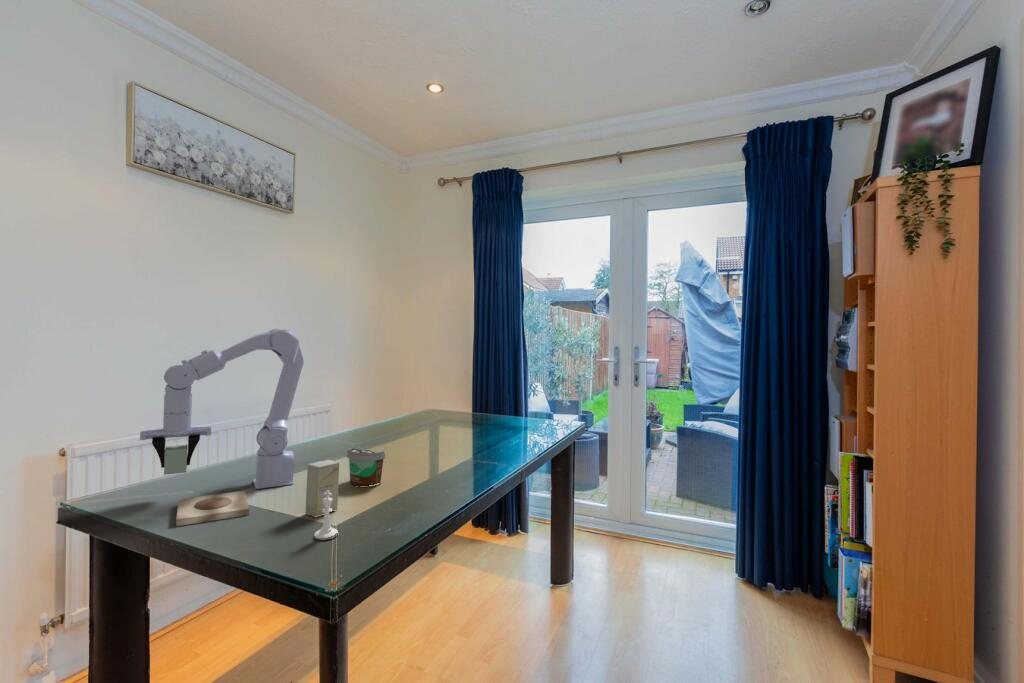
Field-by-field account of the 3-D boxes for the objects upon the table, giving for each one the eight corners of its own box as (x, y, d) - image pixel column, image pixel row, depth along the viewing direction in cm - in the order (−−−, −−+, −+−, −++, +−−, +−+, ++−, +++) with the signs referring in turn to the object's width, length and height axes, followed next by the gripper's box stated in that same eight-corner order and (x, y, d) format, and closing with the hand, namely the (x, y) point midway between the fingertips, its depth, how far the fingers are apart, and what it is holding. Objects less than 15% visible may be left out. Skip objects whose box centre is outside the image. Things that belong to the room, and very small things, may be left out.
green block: (186, 467, 120) (187, 444, 120) (186, 472, 116) (187, 448, 116) (165, 469, 117) (165, 446, 117) (163, 474, 114) (164, 450, 114)
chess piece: (329, 542, 97) (331, 495, 97) (308, 539, 98) (310, 492, 98) (342, 532, 102) (344, 488, 102) (322, 530, 103) (324, 485, 103)
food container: (336, 484, 133) (337, 450, 133) (350, 478, 139) (352, 445, 139) (370, 491, 128) (371, 456, 128) (384, 485, 134) (385, 451, 134)
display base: (244, 496, 121) (244, 489, 120) (249, 514, 109) (249, 507, 109) (178, 505, 113) (178, 498, 113) (176, 526, 101) (176, 518, 101)
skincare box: (315, 518, 109) (317, 467, 109) (304, 514, 111) (306, 464, 111) (338, 510, 114) (340, 461, 114) (327, 506, 116) (329, 458, 116)
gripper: (139, 416, 109) (137, 473, 109) (212, 413, 117) (210, 466, 118) (142, 411, 115) (140, 465, 115) (211, 408, 123) (209, 459, 123)
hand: (175, 465), depth 117 cm, fingers closed on green block, 4 cm apart
